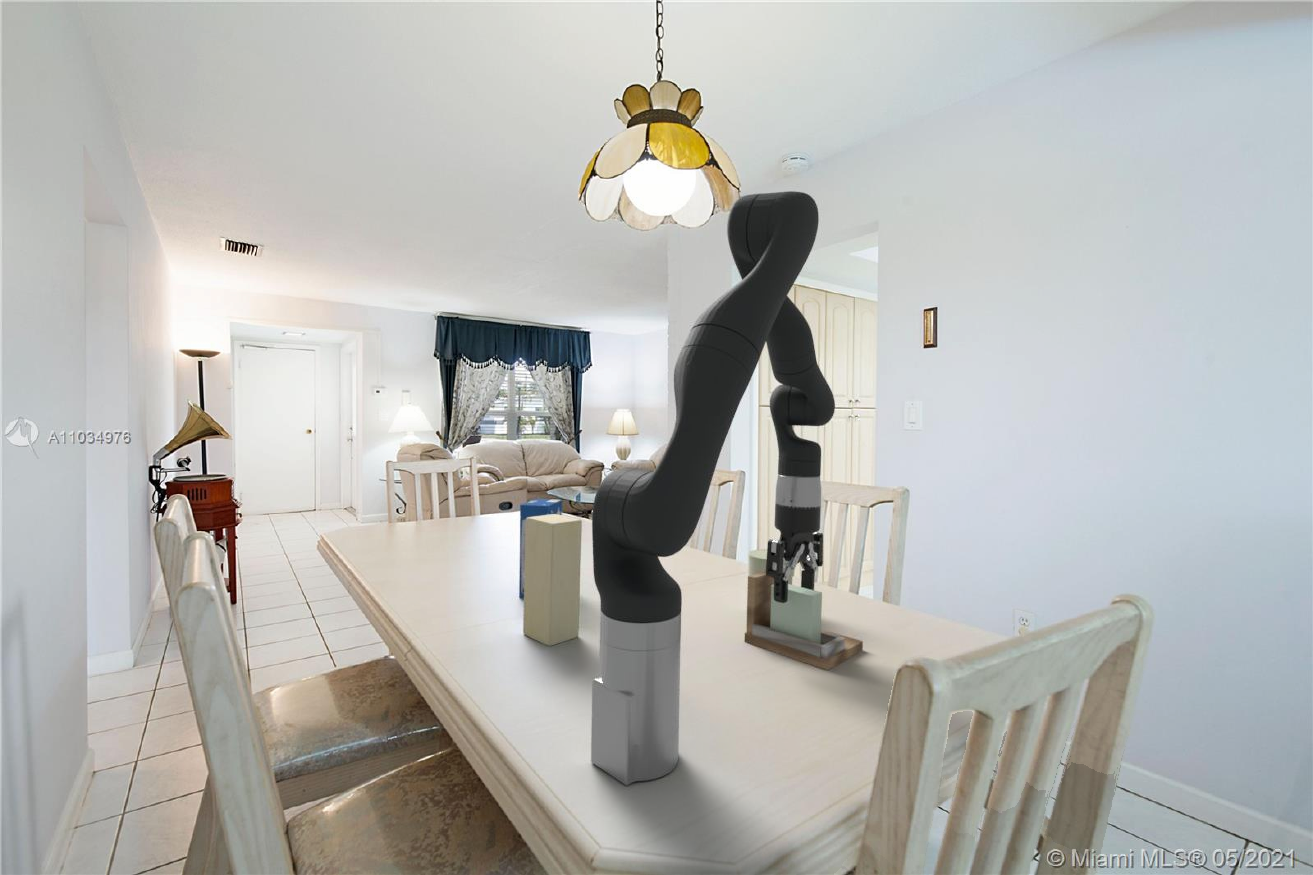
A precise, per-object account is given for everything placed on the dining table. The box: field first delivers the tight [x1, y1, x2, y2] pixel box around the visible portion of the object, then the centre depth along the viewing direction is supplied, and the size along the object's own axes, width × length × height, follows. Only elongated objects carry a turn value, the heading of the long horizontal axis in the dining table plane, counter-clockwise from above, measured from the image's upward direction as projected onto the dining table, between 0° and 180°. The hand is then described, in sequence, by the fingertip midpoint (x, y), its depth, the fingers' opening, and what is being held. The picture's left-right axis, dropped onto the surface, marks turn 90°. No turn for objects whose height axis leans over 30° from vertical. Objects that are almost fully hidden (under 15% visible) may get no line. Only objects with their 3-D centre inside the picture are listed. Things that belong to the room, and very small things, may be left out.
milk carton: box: [518, 498, 563, 599], centre depth 131 cm, size 10×6×20 cm, turn 172°
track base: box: [744, 571, 864, 671], centre depth 103 cm, size 12×16×12 cm
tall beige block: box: [522, 514, 583, 647], centre depth 105 cm, size 8×7×21 cm
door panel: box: [770, 584, 823, 644], centre depth 101 cm, size 3×8×9 cm, turn 45°
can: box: [747, 548, 794, 585], centre depth 122 cm, size 9×9×12 cm
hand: (794, 597), depth 101 cm, fingers open, 8 cm apart
